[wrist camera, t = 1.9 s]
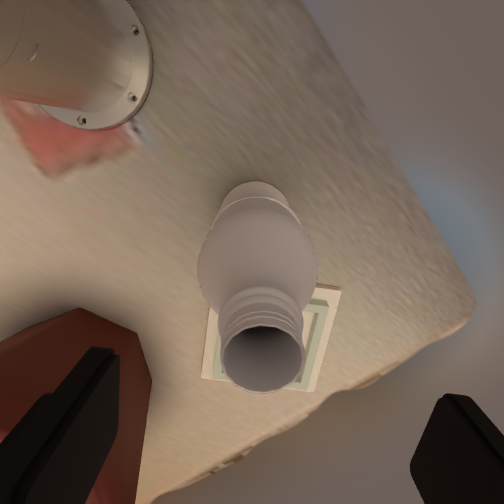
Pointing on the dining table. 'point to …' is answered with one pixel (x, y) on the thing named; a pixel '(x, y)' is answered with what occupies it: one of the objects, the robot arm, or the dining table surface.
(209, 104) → the dining table surface
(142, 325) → the dining table surface
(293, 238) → the water bottle
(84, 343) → the bucket
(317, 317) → the plate
